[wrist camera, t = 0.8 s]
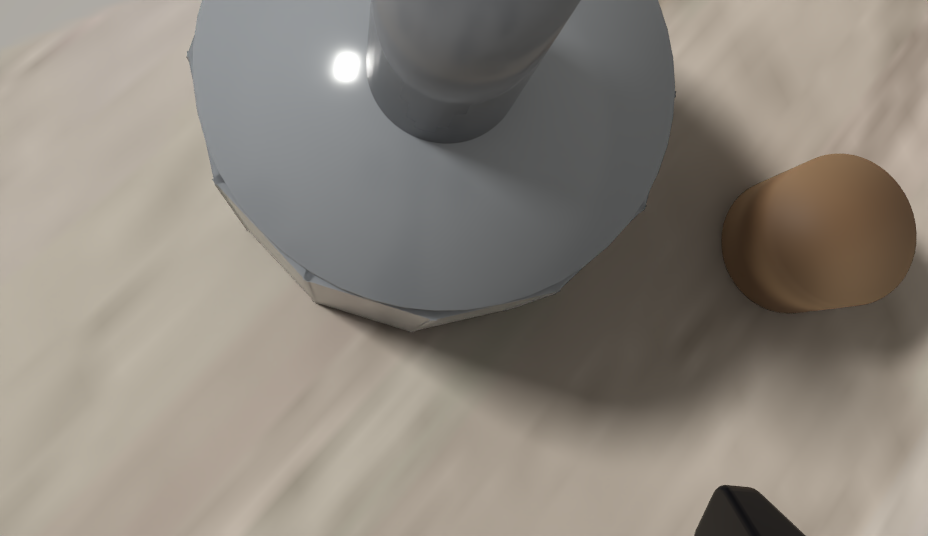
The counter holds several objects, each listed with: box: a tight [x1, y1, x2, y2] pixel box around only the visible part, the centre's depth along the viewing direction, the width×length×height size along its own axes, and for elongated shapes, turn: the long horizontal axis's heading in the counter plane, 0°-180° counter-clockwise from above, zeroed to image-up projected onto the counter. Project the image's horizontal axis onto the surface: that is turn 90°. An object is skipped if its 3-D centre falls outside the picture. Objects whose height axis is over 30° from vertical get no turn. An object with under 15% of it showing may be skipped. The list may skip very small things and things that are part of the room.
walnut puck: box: [722, 154, 916, 313], centre depth 23 cm, size 4×4×3 cm
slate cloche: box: [187, 0, 676, 332], centre depth 17 cm, size 10×10×12 cm
